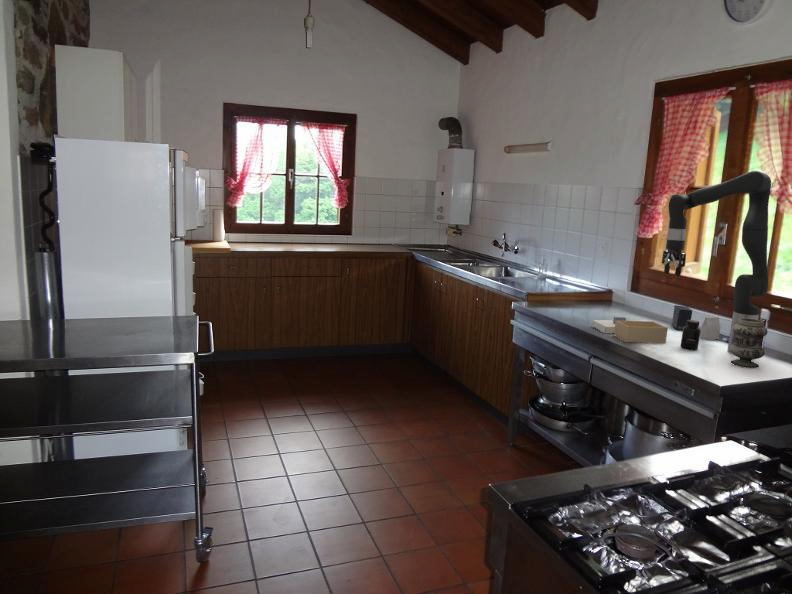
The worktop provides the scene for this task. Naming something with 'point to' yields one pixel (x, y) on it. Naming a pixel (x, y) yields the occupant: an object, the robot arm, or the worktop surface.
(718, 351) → the worktop surface
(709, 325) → the printed product carton
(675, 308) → the small box
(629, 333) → the box
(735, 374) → the worktop surface
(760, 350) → the apothecary jar
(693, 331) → the supplement bottle
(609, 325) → the mailer lid
